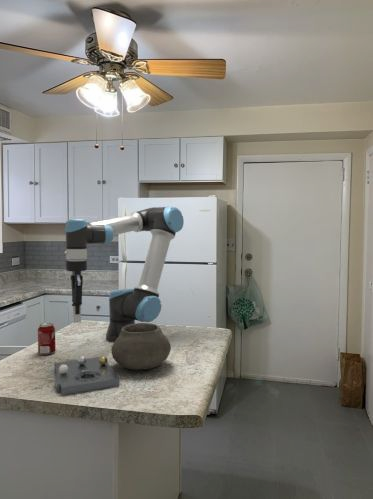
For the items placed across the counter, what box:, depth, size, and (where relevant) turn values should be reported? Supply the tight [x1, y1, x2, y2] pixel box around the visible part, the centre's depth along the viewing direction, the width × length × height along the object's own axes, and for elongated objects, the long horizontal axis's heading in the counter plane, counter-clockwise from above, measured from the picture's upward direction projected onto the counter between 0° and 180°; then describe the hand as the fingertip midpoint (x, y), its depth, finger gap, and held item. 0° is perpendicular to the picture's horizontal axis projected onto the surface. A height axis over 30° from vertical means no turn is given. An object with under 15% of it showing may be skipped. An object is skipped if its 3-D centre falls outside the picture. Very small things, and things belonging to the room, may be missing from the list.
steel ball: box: [76, 355, 87, 365], centre depth 139 cm, size 3×3×3 cm
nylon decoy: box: [59, 364, 68, 374], centre depth 130 cm, size 3×3×3 cm
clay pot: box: [110, 322, 172, 371], centre depth 143 cm, size 22×21×15 cm
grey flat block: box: [53, 356, 121, 397], centre depth 133 cm, size 24×20×2 cm
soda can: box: [37, 322, 56, 356], centre depth 159 cm, size 7×7×12 cm
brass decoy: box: [99, 355, 108, 365], centre depth 139 cm, size 3×3×3 cm
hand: (77, 322), depth 146 cm, fingers closed
